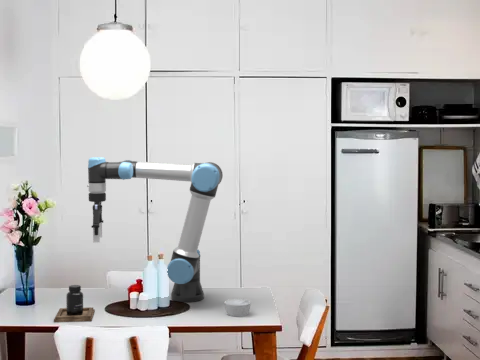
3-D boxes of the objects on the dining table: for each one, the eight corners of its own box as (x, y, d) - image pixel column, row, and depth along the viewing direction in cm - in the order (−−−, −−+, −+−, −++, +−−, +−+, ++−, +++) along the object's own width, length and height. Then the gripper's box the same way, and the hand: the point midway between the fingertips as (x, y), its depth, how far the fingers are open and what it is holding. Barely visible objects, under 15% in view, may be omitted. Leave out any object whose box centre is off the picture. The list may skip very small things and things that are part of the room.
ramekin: (252, 316, 302) (252, 304, 301) (226, 318, 300) (226, 305, 300) (248, 310, 313) (248, 298, 312) (222, 311, 311) (222, 299, 311)
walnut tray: (94, 311, 309) (94, 307, 309) (91, 321, 294) (91, 316, 294) (58, 312, 307) (58, 307, 307) (53, 322, 292) (53, 317, 292)
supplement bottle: (79, 316, 297) (78, 288, 296) (63, 316, 298) (63, 287, 297) (86, 312, 303) (85, 284, 303) (70, 311, 305) (70, 283, 304)
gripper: (91, 189, 331) (91, 235, 333) (85, 195, 307) (86, 244, 308) (107, 189, 332) (108, 235, 334) (103, 195, 307) (104, 244, 309)
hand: (97, 239), depth 321 cm, fingers open, 13 cm apart
